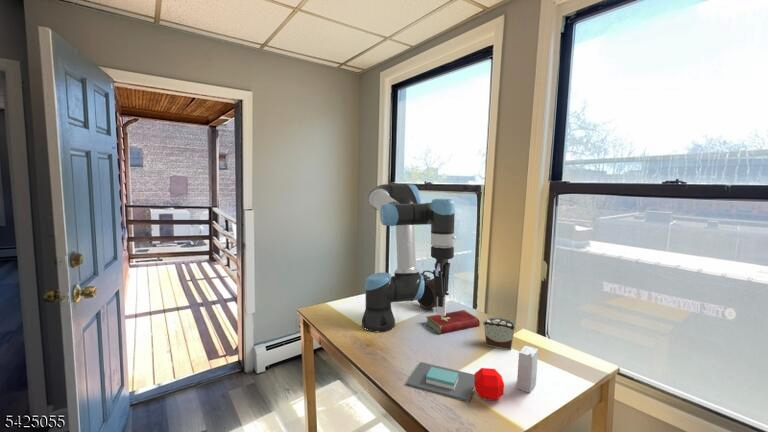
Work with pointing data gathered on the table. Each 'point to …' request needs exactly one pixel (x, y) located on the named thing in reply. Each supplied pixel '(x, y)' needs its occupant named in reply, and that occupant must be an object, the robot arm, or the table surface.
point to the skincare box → (527, 368)
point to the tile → (442, 378)
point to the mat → (460, 392)
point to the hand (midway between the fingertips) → (441, 314)
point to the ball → (489, 384)
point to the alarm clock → (428, 293)
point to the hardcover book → (453, 321)
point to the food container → (499, 332)
